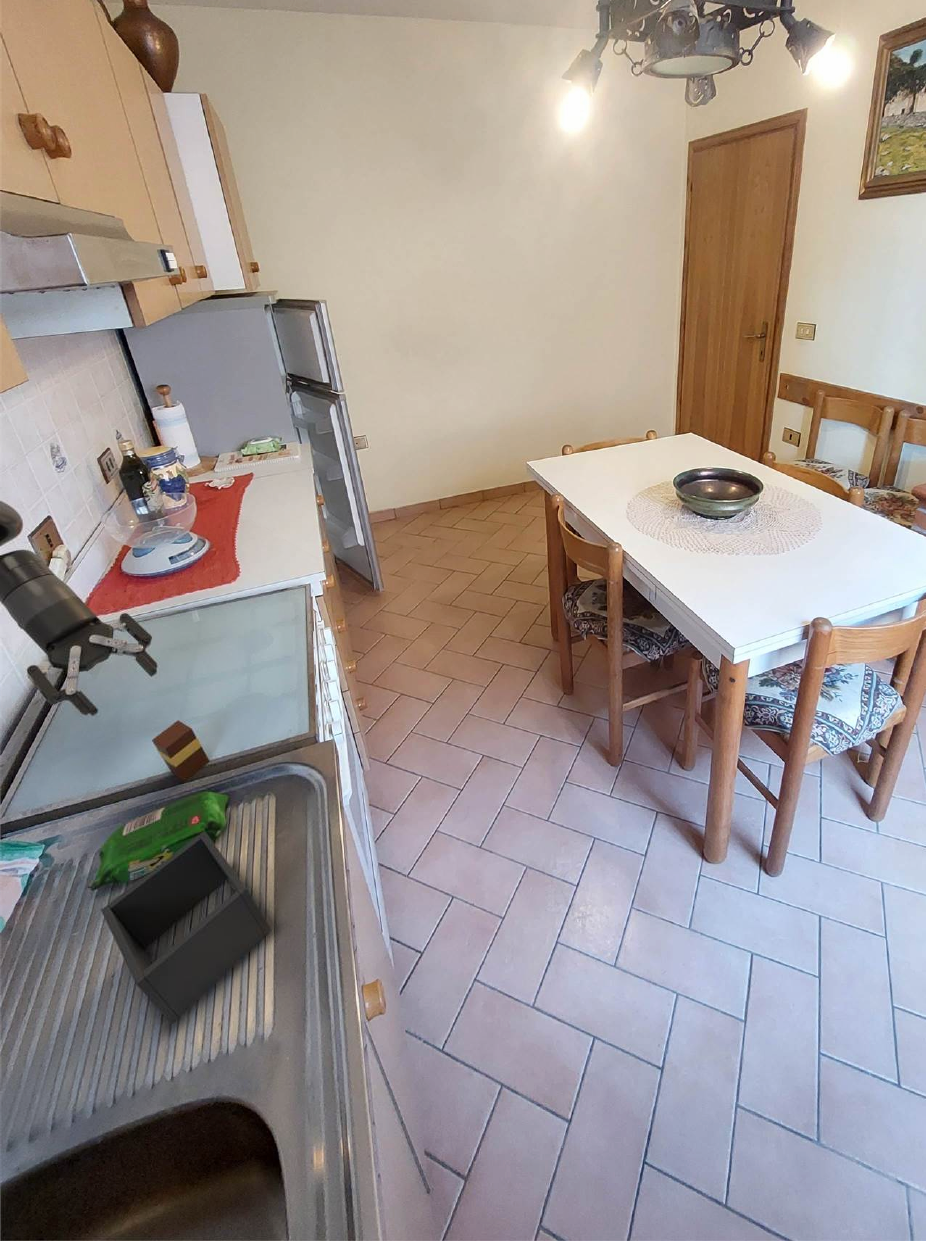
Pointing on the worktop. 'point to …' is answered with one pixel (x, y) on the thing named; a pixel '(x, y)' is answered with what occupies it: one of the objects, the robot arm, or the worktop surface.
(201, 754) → the brown yellow banded block
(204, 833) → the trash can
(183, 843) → the snack package
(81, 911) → the worktop surface
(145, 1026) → the worktop surface
